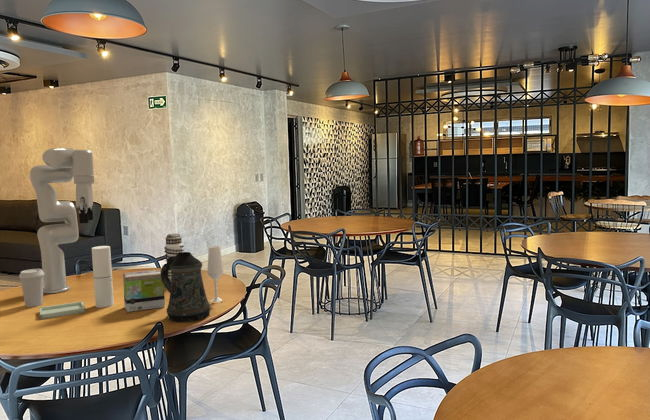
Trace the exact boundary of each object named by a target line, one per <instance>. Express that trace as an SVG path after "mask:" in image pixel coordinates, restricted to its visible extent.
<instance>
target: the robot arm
mask: <svg viewBox="0 0 650 420" xmlns="http://www.w3.org/2000/svg"><path fill="white" fill-rule="evenodd" d="M93 156H94V155H93V152H92V150H89V149H74V148H69V147H68V148H62V147H61V148H57V147H54V148H48V149H46V150H45V151H43V154H42V156H41V157H42V162H43V163H44V164H40V165H35V166H33V167H31V168H30V170H29V179H30V183H31V185H32V188H33V189H34V192H35V197H36V202H37V211H38V217H39V220H40V221H41V222H43V223H53V222H54V223H56V222H64V223H59V224H58V223H57V224H48V225H43V226H41V227H39V229H38V230H37V240H38V243H39V249H40V255H41V256H40V257H41V269H42V271H43V272H44V275H43V294H58V293H63V292H67V291H68V290H71V286H70V285H68V284H67V277H66V276H67V275H66V264H65V263H66V262H65V261H66V260H65V253H64V251H63V250H62V249H61V248H60V247H59V245H62V244H70V243H71V244H72V243H76V242H77V241H78V239H79V237H80V235H79V234H80V233H79V225H78V218H79V224H89V221H94V210H93V206H94V195H93V184H95V174H94V171H95V170H94V157H93ZM72 180H73V184H74V185H75V204H74V203H73V202H72V201H68V200H63V201H61V200H60V201H59V200H58V194H57V191H56V188H54V187H53V186H52V185H51V184H57V183H58V184H59V183H62V184H64V183H70V182H71V181H72ZM77 209H78V214H77ZM77 215H78V216H79V217H77Z"/></svg>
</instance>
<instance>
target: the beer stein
mask: <svg viewBox="0 0 650 420" xmlns="http://www.w3.org/2000/svg"><path fill="white" fill-rule="evenodd" d="M202 269H203V262H202V261H201V260H200V259H198V258H196V257H194V255H192V253H191V252H189V251H183V252H180V253H178V254H177V255H176V256H171V257H169V258H168V260H167V262H166V263H164V264H163V265H162V266H161V269H160V270H161V279H162V282H163V284H164V289H165V288H166V290H167V292H168V293H169V300H168V304H167V308H166V314H167V316H168V317H167V318H168V320H169V321H170V320H171V322H173V321H174V323H192V322H193V323H194V322H198V321H201V320H205V319H206V318H208V317H210V314H211V313H210V310H211V303H209V301H208V300H209V299H208V297H207V294H206V290H205V286H204V281H203V275H202ZM169 270H171V272H172V279H171V281H170V279H169V276H168V271H169Z"/></svg>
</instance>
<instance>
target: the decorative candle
mask: <svg viewBox="0 0 650 420" xmlns="http://www.w3.org/2000/svg"><path fill="white" fill-rule="evenodd" d="M182 238H183V236H181V234H179V233H168V234H167V235H166V237H165V245H164V253H165V254H164V257H165V262H166V263H167V260H168V258H169V257H171V256H176V255H177V254H178V253H180V252H185V251H184V249H183V248H184V245H183V242H182ZM168 276H169V279H170V281H171V279H172V272H171V270H169V271H168Z"/></svg>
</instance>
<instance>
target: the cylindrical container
mask: <svg viewBox="0 0 650 420" xmlns="http://www.w3.org/2000/svg"><path fill="white" fill-rule="evenodd" d="M111 254H112V253H111V246H109V245H99V246H94V247H91V257H92V259H91V260H92V273H93V275H92V276H93V286H94V289H93V290H94V291H93V292H94V302H95V303H94V304H95V305H94V306H95V307H96V308H101V309H102V308H103V309H104V308H109V307H112V306H114V303H115V299H114V288H113V285H114V284H113V270H112V257H111Z"/></svg>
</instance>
